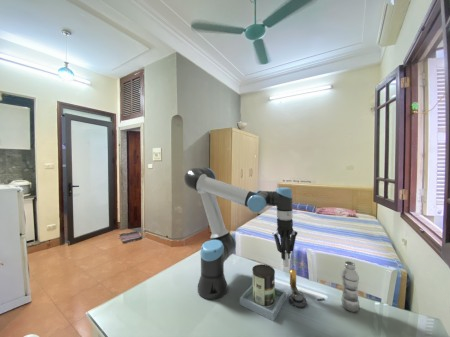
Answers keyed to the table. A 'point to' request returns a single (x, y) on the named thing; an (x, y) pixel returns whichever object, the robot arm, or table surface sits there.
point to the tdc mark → (320, 299)
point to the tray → (269, 312)
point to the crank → (295, 295)
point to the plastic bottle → (350, 287)
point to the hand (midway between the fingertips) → (285, 265)
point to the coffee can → (264, 285)
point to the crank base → (298, 304)
